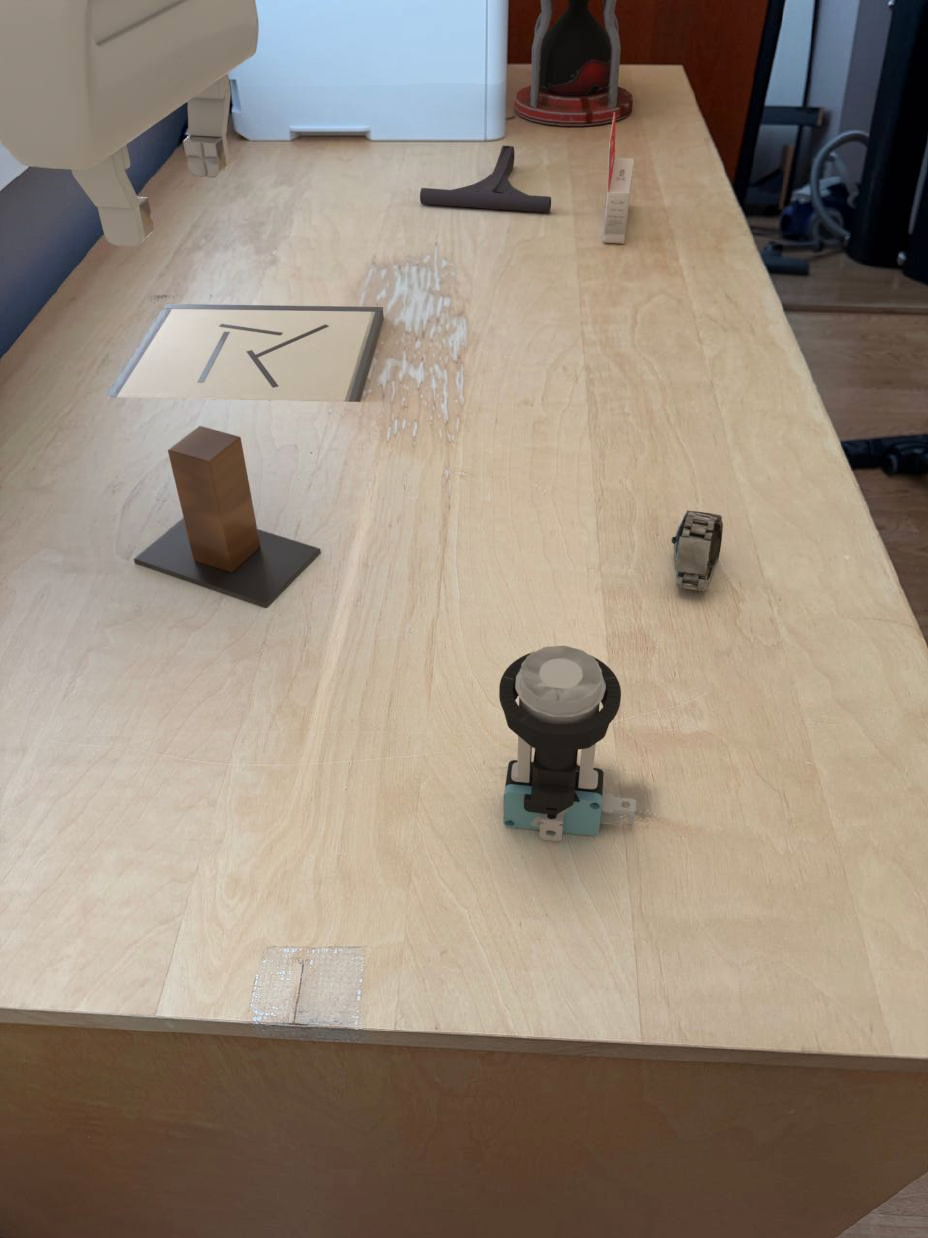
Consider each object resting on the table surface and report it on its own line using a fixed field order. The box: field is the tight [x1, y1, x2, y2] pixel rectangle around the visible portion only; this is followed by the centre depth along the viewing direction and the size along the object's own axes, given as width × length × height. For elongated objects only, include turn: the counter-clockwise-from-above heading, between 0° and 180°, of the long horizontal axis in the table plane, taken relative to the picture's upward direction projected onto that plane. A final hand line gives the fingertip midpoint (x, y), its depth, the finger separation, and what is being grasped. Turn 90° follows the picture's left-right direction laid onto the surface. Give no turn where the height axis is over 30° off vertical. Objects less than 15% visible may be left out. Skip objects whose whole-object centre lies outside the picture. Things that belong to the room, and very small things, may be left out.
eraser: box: [133, 425, 322, 609], centre depth 63 cm, size 10×6×10 cm, turn 63°
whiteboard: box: [105, 303, 384, 403], centre depth 86 cm, size 20×22×1 cm
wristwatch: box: [671, 509, 724, 592], centre depth 64 cm, size 3×5×5 cm
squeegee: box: [419, 145, 552, 214], centre depth 119 cm, size 14×15×3 cm
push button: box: [498, 645, 637, 842], centre depth 48 cm, size 7×5×10 cm
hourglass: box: [513, 0, 634, 127], centre depth 134 cm, size 16×16×25 cm
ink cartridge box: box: [602, 112, 635, 245], centre depth 107 cm, size 2×11×10 cm, turn 171°
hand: (173, 204), depth 51 cm, fingers open, 8 cm apart
